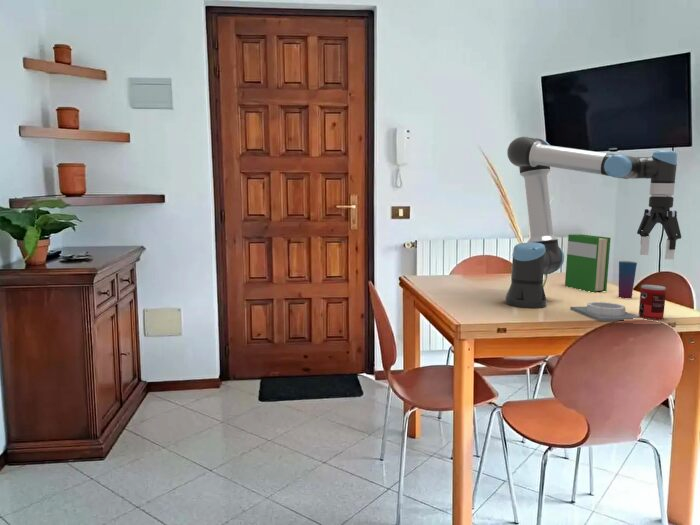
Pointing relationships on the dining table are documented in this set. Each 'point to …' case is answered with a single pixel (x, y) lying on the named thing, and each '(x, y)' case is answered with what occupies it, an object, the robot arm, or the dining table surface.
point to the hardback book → (587, 262)
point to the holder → (604, 311)
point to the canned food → (652, 301)
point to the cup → (626, 278)
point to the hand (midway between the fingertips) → (656, 257)
